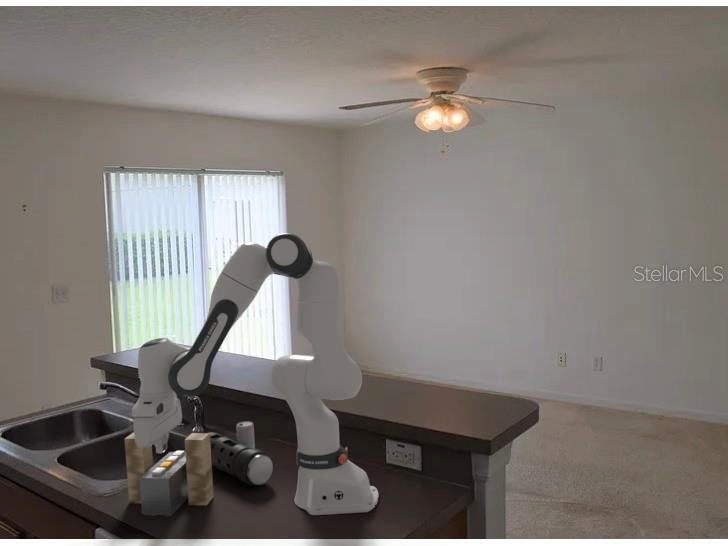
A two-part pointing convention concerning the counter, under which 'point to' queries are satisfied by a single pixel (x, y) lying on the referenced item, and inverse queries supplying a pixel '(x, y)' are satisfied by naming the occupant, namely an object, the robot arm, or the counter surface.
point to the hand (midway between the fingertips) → (161, 451)
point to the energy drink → (246, 433)
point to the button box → (165, 485)
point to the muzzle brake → (240, 460)
